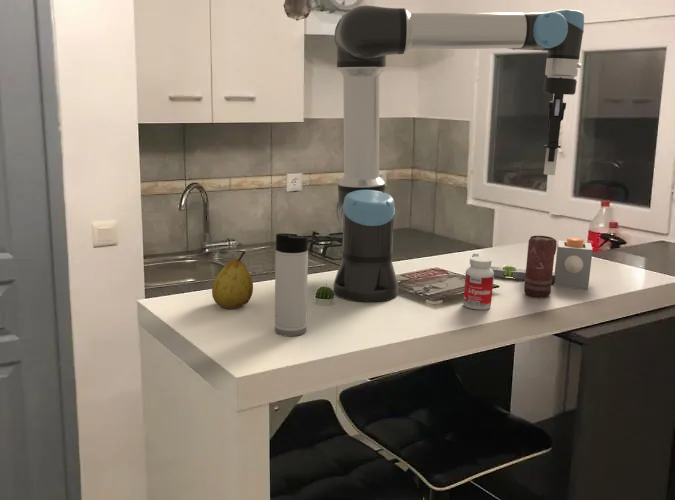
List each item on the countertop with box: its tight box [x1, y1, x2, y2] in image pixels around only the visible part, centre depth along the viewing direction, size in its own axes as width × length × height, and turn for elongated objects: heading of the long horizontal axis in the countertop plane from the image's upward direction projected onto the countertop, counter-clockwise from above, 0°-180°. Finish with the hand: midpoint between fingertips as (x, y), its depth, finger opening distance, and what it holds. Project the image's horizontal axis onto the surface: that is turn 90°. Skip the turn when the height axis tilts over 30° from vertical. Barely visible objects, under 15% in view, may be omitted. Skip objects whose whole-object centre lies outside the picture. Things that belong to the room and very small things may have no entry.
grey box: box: [553, 239, 593, 290], centre depth 184 cm, size 8×8×10 cm
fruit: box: [211, 251, 254, 310], centre depth 158 cm, size 9×9×12 cm
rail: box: [471, 253, 555, 284], centre depth 188 cm, size 21×3×5 cm, turn 75°
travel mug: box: [274, 232, 309, 337], centre depth 142 cm, size 6×7×20 cm
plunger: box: [566, 237, 585, 248], centre depth 183 cm, size 4×4×6 cm
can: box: [523, 235, 558, 299], centre depth 173 cm, size 6×6×14 cm
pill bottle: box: [462, 256, 495, 311], centre depth 163 cm, size 6×6×11 cm
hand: (549, 174), depth 182 cm, fingers closed
